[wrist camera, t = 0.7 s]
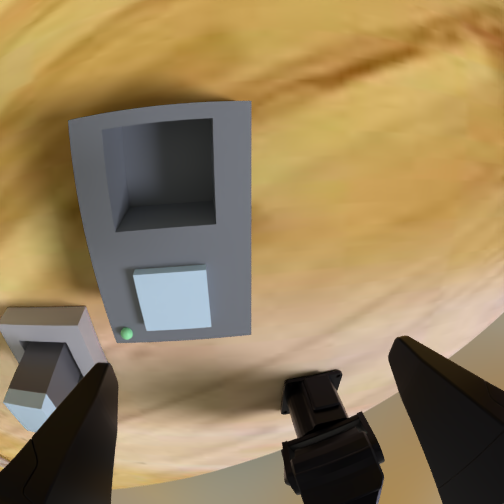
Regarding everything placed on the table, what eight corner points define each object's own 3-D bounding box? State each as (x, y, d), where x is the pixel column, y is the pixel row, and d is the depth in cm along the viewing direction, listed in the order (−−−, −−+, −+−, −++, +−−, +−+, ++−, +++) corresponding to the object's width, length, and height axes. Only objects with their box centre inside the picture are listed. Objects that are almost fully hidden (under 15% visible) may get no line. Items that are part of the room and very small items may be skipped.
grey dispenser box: (241, 291, 24) (252, 340, 19) (128, 299, 23) (115, 349, 18) (238, 101, 18) (253, 100, 13) (98, 115, 16) (63, 121, 11)
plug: (82, 367, 24) (64, 437, 17) (48, 365, 24) (27, 430, 17) (67, 336, 22) (41, 409, 15) (32, 335, 22) (2, 402, 15)
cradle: (114, 377, 27) (110, 396, 24) (42, 373, 25) (36, 390, 23) (85, 306, 22) (77, 325, 20) (7, 307, 21) (-4, 324, 19)
